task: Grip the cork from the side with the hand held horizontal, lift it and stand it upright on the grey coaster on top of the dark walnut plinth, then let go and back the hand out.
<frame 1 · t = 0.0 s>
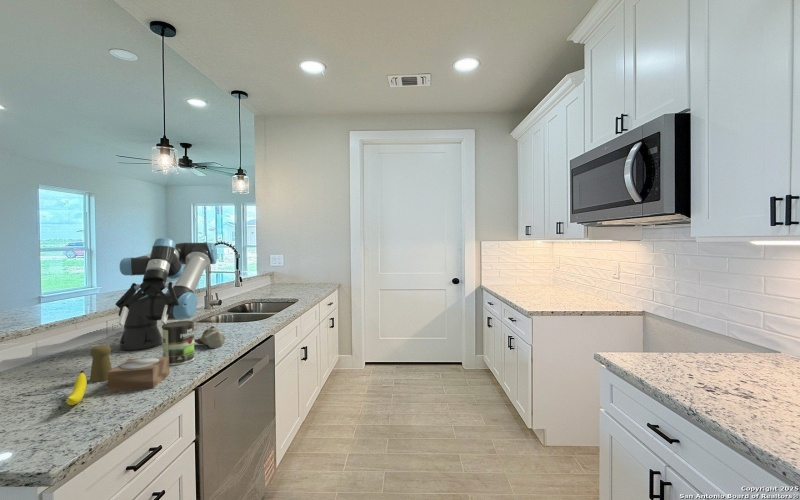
hand: (142, 323, 130), 15 cm above the countertop, fingers open, 13 cm apart
banana: (76, 403, 100), on the countertop
ceramic sculpture: (212, 346, 155), on the countertop
coffee can: (179, 361, 135), on the countertop
cork: (101, 379, 118), on the countertop
walnut plinth: (140, 382, 115), on the countertop
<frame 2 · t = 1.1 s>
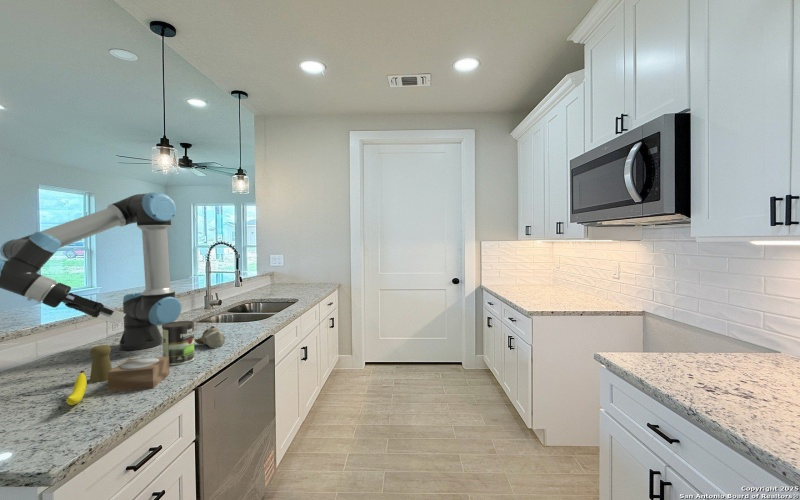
hand: (121, 319, 125), 18 cm above the countertop, fingers open, 13 cm apart
nothing on the countertop moved.
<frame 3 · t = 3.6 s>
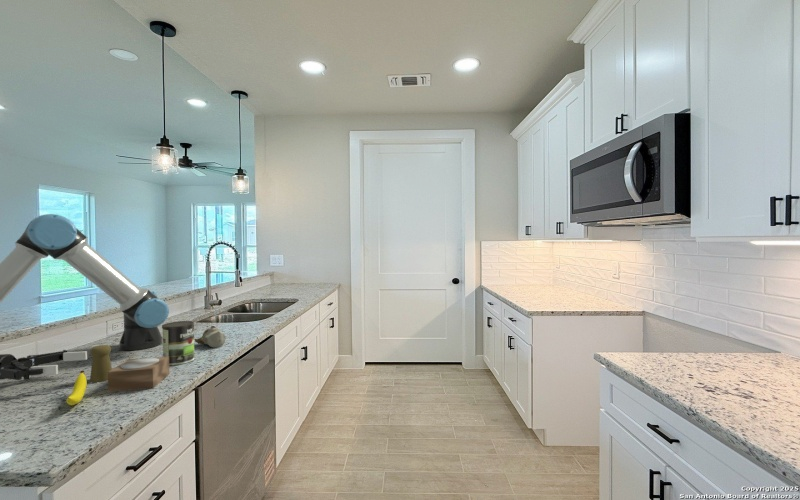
hand: (72, 362, 115), 6 cm above the countertop, fingers open, 13 cm apart
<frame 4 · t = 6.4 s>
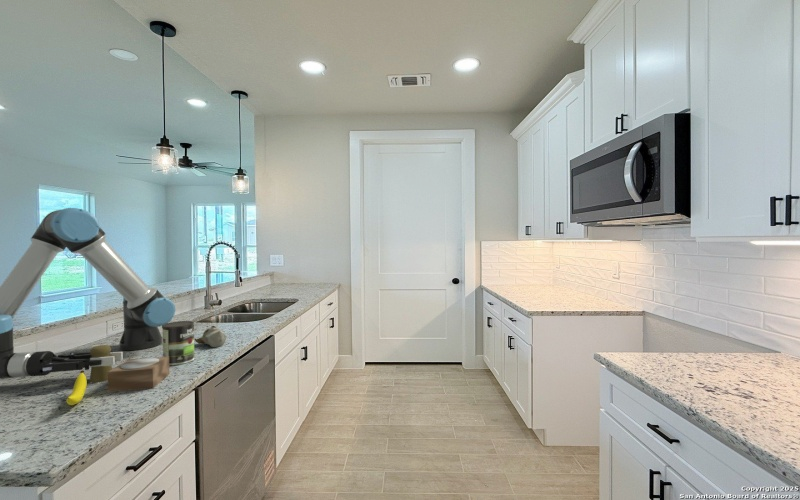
hand: (118, 358, 118), 7 cm above the countertop, fingers closed on cork, 4 cm apart
cork: (101, 379, 118), on the countertop, touching gripper
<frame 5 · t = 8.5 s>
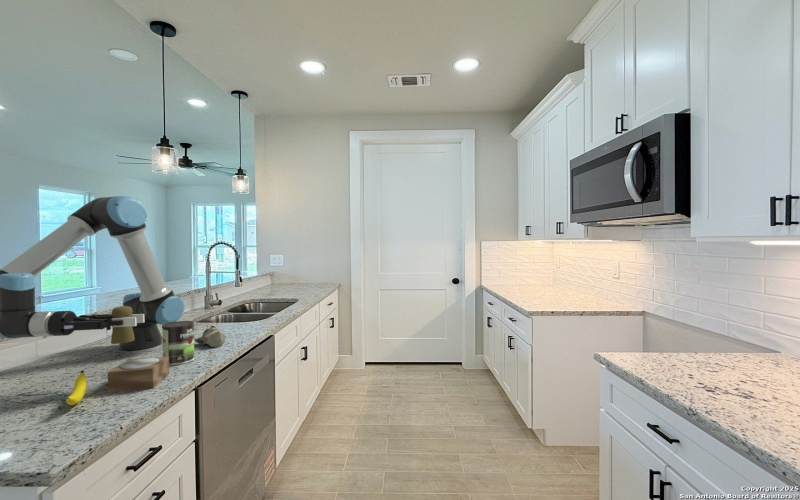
hand: (139, 319, 114), 20 cm above the countertop, fingers closed on cork, 4 cm apart
cork: (123, 341, 114), point 13 cm above the countertop, touching gripper
when the fingers open (14 cm above the countertop, at t = 11.0 s): cork stays where it is, resting on walnut plinth.
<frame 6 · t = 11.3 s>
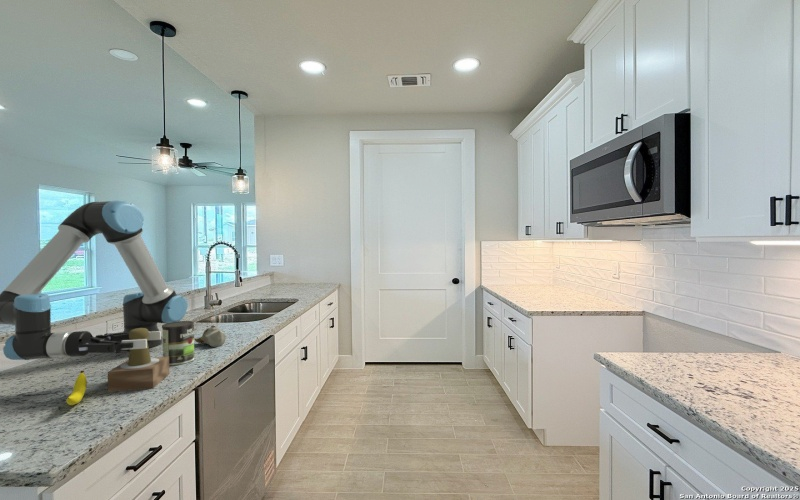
hand: (153, 339, 115), 14 cm above the countertop, fingers open, 9 cm apart
cork: (139, 363, 114), point 6 cm above the countertop, touching walnut plinth
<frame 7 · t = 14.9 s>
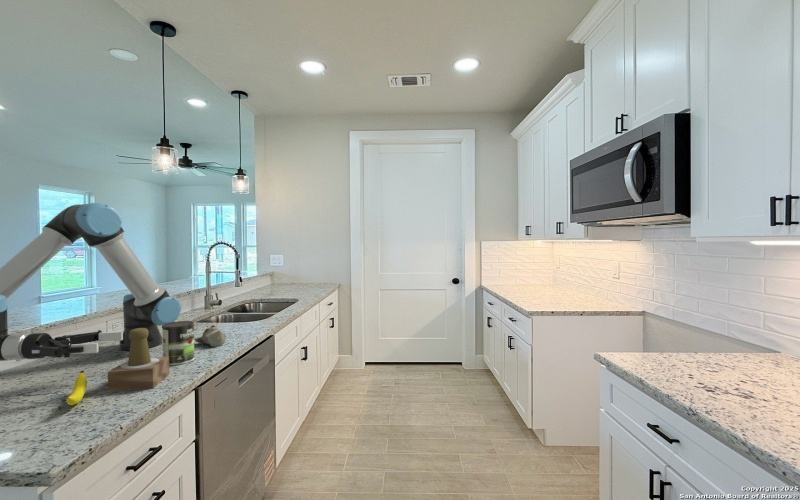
hand: (110, 341, 113), 14 cm above the countertop, fingers open, 13 cm apart
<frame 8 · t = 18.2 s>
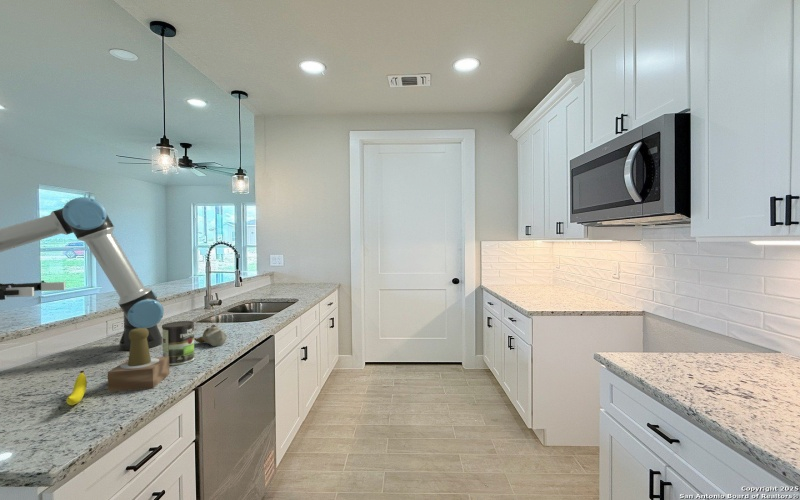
hand: (49, 288, 116), 30 cm above the countertop, fingers open, 13 cm apart
at the end: cork inside the target area on the walnut plinth (0.2 cm from its centre), point 6.1 cm above the walnut plinth's base; cork tilted 0°; the gripper is holding nothing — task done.
